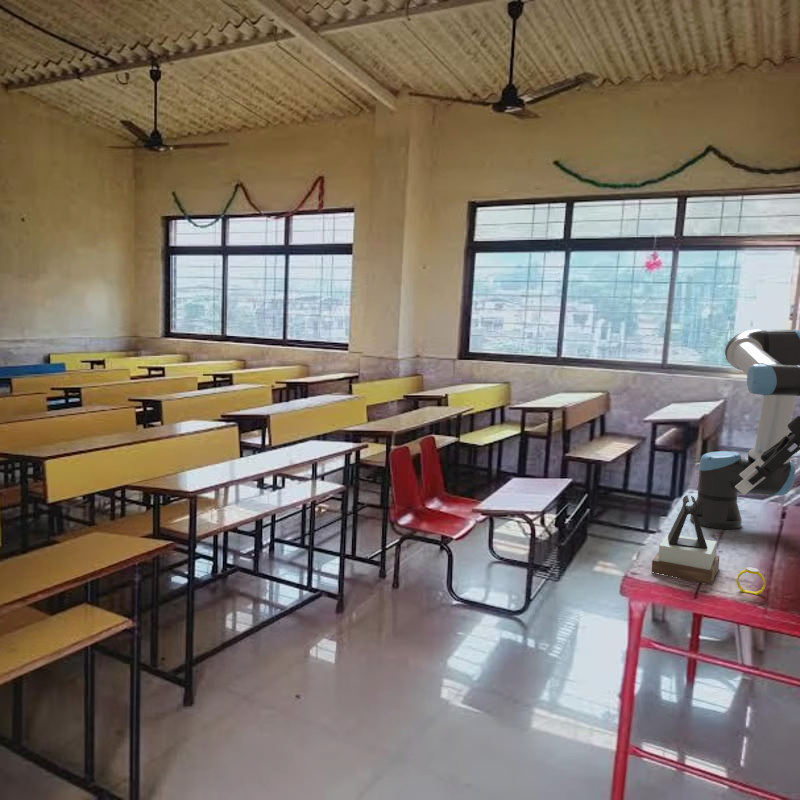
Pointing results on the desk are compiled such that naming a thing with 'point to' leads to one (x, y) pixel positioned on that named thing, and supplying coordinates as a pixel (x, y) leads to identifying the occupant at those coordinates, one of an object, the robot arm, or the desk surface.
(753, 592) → the watch
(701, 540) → the phone stand
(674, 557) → the upper block
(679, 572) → the lower block
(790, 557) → the desk surface
